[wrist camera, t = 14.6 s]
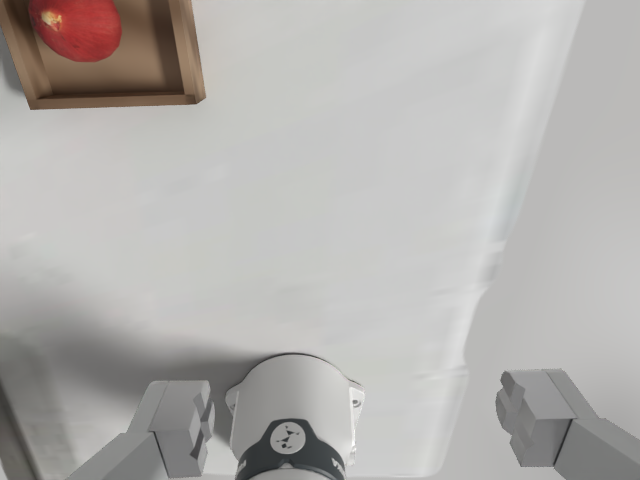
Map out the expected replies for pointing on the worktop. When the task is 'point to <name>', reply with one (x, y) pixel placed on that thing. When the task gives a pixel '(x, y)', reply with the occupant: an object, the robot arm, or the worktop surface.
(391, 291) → the worktop surface
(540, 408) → the robot arm
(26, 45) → the walnut tray
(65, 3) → the onion
